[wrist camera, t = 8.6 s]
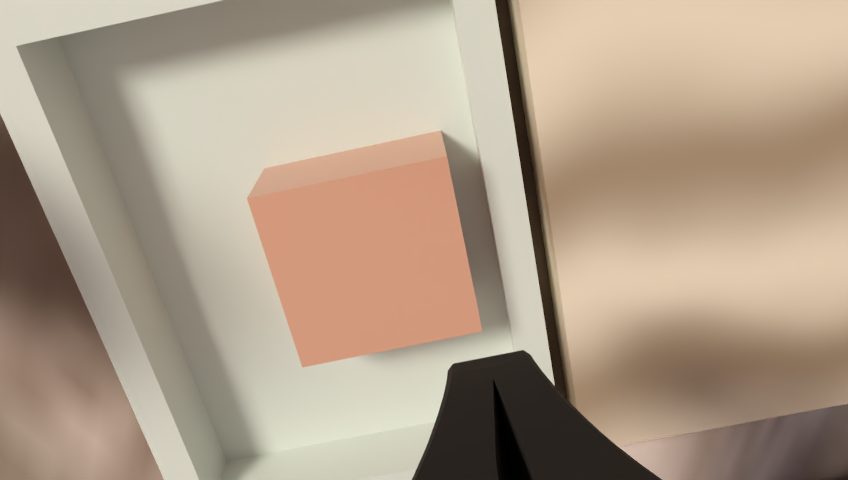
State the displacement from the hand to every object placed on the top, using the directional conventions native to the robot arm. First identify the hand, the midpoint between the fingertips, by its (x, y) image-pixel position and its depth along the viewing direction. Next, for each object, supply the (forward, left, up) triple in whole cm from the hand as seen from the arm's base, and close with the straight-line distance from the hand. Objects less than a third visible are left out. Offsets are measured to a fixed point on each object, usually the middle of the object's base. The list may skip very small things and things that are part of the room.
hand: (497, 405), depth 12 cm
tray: (0, +4, -9) cm, 10 cm away
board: (0, -8, -9) cm, 13 cm away
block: (0, +2, -9) cm, 9 cm away
